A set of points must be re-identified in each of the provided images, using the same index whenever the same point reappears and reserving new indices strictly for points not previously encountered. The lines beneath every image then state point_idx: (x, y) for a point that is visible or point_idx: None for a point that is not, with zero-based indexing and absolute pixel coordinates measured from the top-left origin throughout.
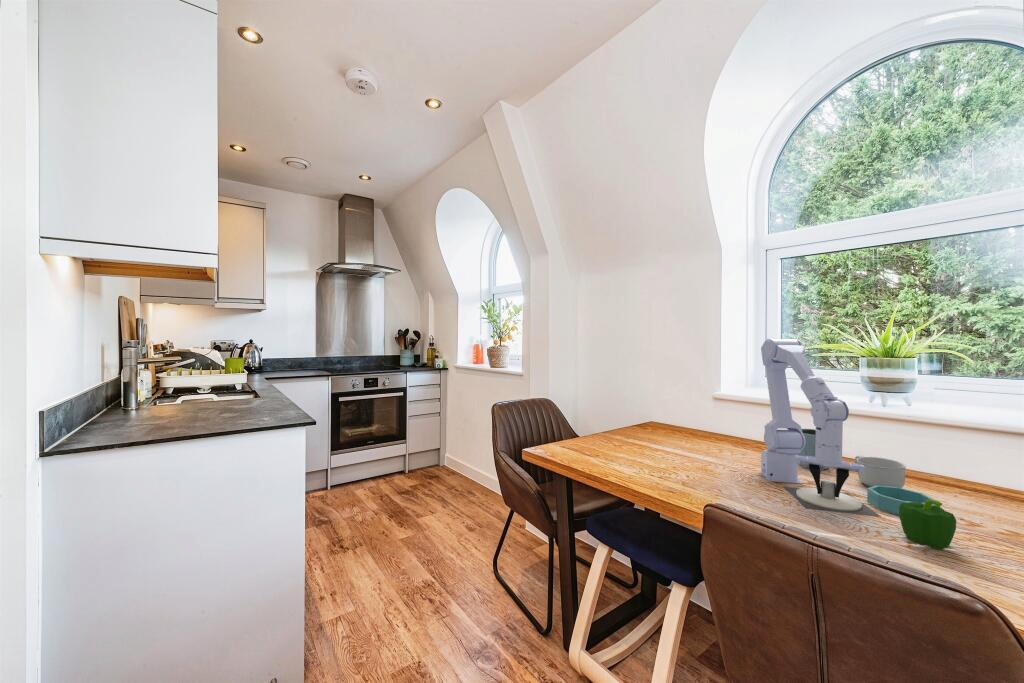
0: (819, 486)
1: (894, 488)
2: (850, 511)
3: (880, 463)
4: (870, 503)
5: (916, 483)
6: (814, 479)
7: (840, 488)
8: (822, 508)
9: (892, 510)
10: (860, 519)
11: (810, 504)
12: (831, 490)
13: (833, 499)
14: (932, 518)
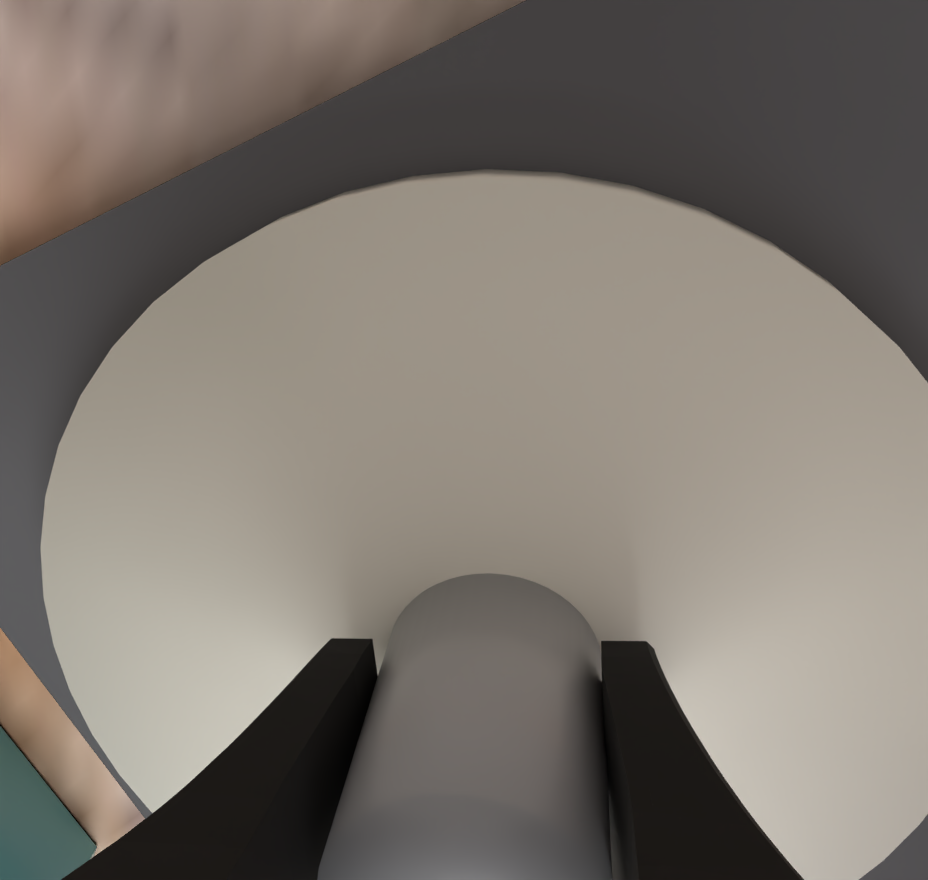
0: (633, 729)
1: None
2: (156, 283)
3: None
4: (39, 810)
5: None
6: (775, 847)
7: (232, 750)
8: (568, 92)
9: None
10: (6, 69)
11: (777, 191)
12: (411, 695)
13: (409, 600)
14: None
